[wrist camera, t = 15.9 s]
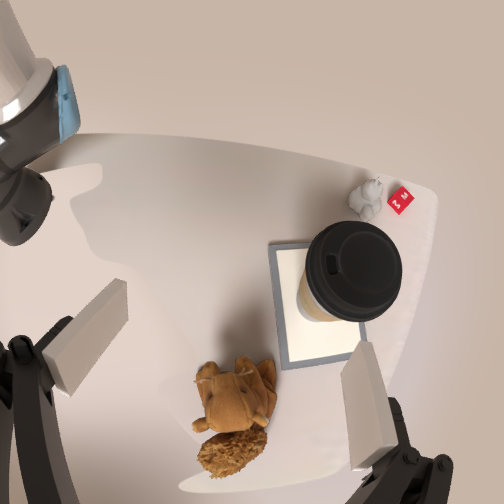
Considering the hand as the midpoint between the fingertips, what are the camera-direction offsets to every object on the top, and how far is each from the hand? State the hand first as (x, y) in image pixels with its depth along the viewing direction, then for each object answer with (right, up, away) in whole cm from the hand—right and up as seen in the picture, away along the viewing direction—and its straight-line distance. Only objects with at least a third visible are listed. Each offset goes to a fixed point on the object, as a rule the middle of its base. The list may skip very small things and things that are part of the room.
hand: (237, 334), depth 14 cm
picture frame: (+10, -2, +23) cm, 25 cm away
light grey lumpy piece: (+18, +11, +29) cm, 36 cm away
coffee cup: (+9, -2, +22) cm, 24 cm away
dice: (+26, +13, +30) cm, 42 cm away
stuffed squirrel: (-1, -16, +17) cm, 23 cm away
